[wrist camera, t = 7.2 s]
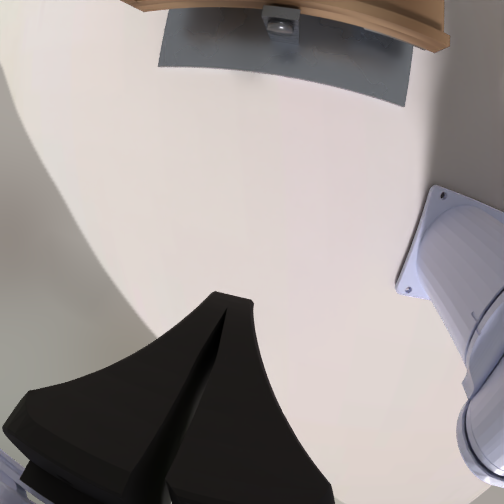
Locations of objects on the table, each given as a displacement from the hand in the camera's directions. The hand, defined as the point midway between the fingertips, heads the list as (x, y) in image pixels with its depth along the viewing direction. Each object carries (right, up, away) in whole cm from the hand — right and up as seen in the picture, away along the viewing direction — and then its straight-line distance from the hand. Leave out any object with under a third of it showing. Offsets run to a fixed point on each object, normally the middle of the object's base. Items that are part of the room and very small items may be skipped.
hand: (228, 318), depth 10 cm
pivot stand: (+3, +18, +2) cm, 18 cm away
